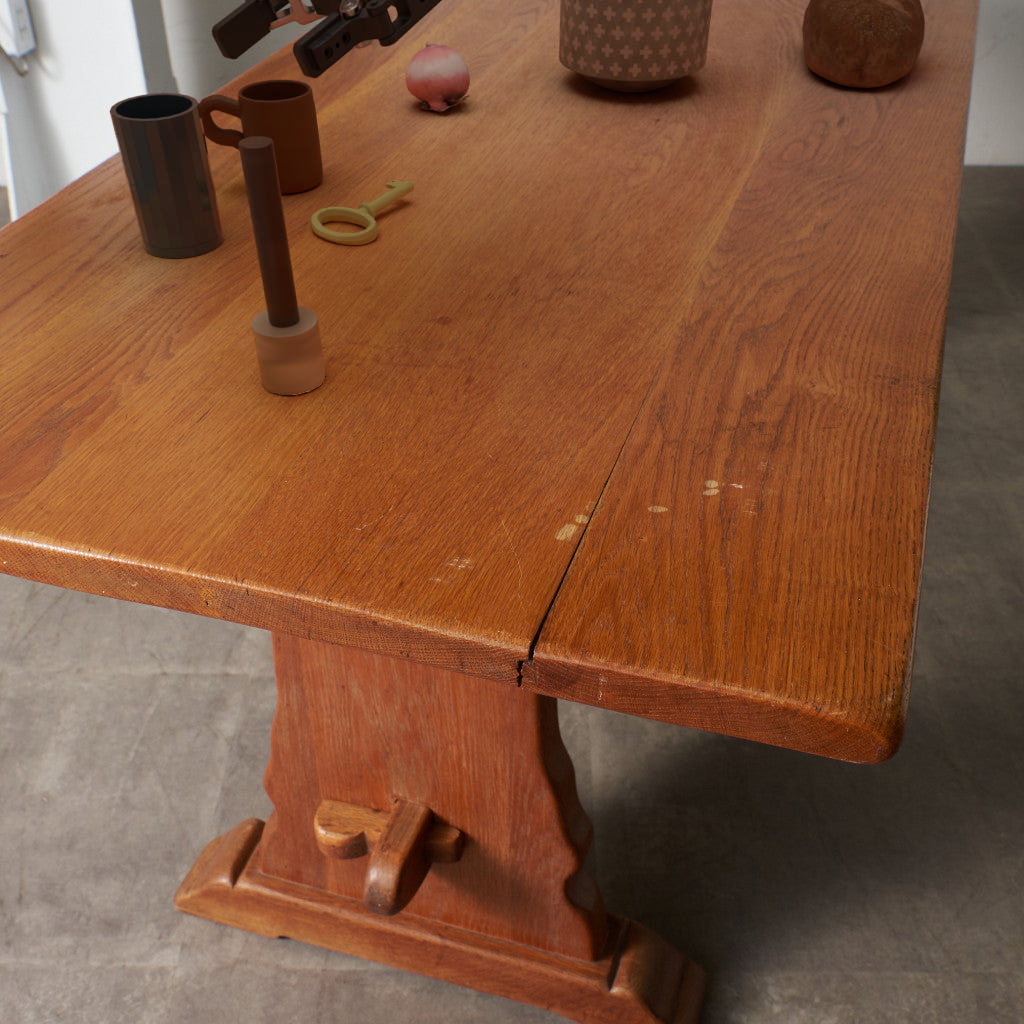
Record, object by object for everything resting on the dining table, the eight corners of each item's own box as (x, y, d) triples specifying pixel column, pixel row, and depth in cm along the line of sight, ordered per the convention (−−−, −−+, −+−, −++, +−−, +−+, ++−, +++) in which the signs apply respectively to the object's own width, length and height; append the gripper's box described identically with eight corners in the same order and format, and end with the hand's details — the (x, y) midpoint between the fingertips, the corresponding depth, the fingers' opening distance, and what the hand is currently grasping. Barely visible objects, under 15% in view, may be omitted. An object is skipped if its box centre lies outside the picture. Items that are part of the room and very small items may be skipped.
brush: (253, 393, 75) (206, 153, 64) (274, 360, 79) (233, 127, 67) (315, 398, 75) (279, 157, 63) (333, 365, 78) (302, 131, 67)
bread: (796, 89, 131) (812, -7, 124) (798, 30, 153) (812, -54, 146) (921, 97, 128) (946, -1, 121) (906, 36, 150) (925, -50, 143)
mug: (205, 200, 103) (186, 105, 97) (213, 172, 109) (195, 81, 103) (323, 194, 104) (312, 100, 98) (325, 167, 110) (314, 77, 104)
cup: (130, 255, 93) (94, 118, 85) (163, 223, 99) (132, 91, 91) (206, 261, 92) (177, 122, 84) (235, 227, 98) (210, 94, 90)
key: (418, 199, 103) (416, 178, 102) (366, 249, 94) (364, 227, 93) (354, 190, 105) (352, 170, 104) (298, 239, 96) (295, 218, 95)
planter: (730, 95, 129) (751, -66, 117) (595, 114, 124) (604, -53, 112) (659, 56, 143) (672, -92, 131) (536, 71, 137) (538, -82, 126)
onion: (473, 97, 129) (471, 36, 124) (469, 117, 123) (467, 54, 118) (410, 96, 129) (407, 36, 124) (404, 116, 123) (399, 54, 118)
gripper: (337, -140, 70) (165, -15, 64) (486, -135, 62) (305, 8, 56) (377, -32, 75) (222, 92, 70) (518, -14, 68) (356, 127, 62)
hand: (259, 54), depth 63 cm, fingers open, 8 cm apart
